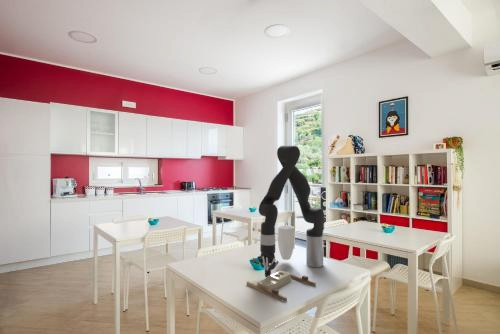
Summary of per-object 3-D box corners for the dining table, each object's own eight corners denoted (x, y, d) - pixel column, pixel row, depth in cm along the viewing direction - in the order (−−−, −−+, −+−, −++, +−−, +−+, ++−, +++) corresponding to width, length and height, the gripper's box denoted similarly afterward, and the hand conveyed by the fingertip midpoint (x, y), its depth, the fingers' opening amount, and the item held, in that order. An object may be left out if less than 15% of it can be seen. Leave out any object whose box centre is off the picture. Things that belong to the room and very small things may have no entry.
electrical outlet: (257, 280, 132) (279, 269, 146) (257, 288, 132) (279, 277, 146) (269, 284, 128) (291, 273, 141) (269, 293, 128) (291, 281, 141)
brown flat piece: (278, 272, 152) (278, 266, 152) (316, 285, 135) (316, 279, 135) (246, 285, 136) (246, 278, 136) (284, 302, 118) (284, 295, 118)
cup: (296, 266, 161) (296, 229, 161) (278, 266, 161) (277, 228, 161) (293, 260, 171) (293, 225, 171) (276, 260, 172) (276, 225, 172)
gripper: (282, 244, 139) (282, 279, 139) (263, 239, 149) (263, 271, 149) (272, 246, 134) (272, 283, 134) (253, 241, 144) (253, 275, 144)
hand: (267, 277), depth 141 cm, fingers closed
